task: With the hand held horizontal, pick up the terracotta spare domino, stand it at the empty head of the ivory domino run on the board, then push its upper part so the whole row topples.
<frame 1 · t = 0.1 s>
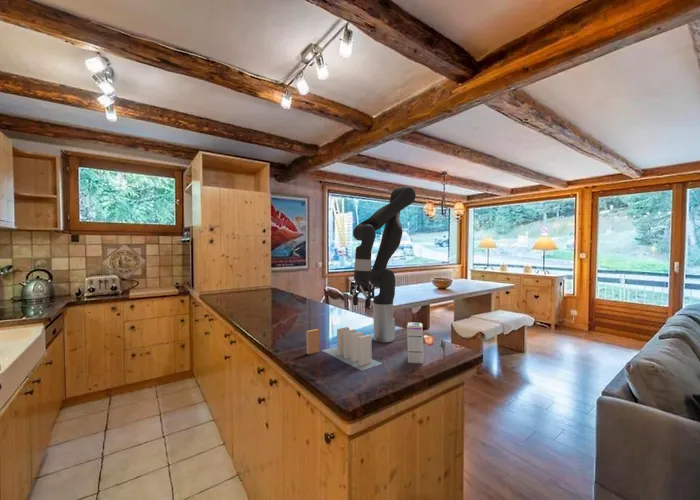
hand: (361, 306, 134), 17 cm above the counter, tool pointing down, fingers open, 8 cm apart
syrup box: (415, 363, 114), on the counter
domino 4: (357, 359, 114), point 1 cm above the counter, touching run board
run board: (350, 359, 118), on the counter
domino 3: (350, 356, 118), point 1 cm above the counter, touching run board
domino 5: (365, 363, 111), point 1 cm above the counter, touching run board
domino 2: (343, 353, 121), point 1 cm above the counter, touching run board
spare domino: (313, 354, 123), on the counter
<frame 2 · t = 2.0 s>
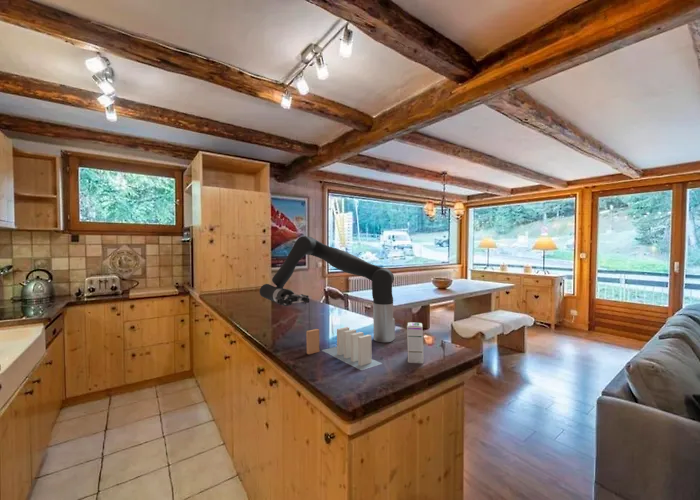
hand: (299, 301, 131), 20 cm above the counter, tool horizontal, fingers open, 8 cm apart
nothing on the counter moved.
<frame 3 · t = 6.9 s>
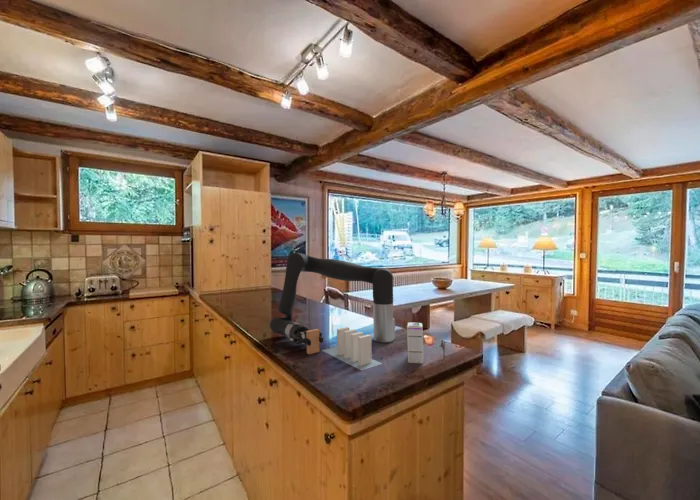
hand: (316, 341, 121), 6 cm above the counter, tool horizontal, fingers closed on spare domino, 5 cm apart
spare domino: (313, 354, 123), on the counter, touching gripper
everything else where it was.
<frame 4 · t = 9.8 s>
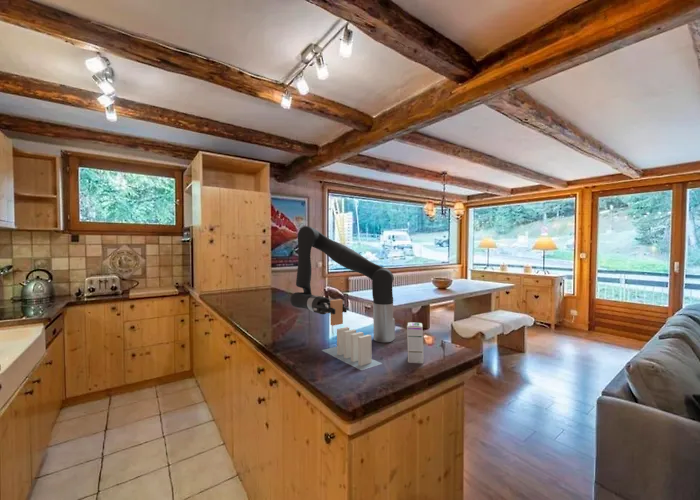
hand: (340, 310, 123), 18 cm above the counter, tool horizontal, fingers closed on spare domino, 5 cm apart
spare domino: (336, 324, 125), point 12 cm above the counter, touching gripper
everything else where it was.
when the fingers open (8 cm above the counter, at t = 12.9 s): spare domino stays where it is, resting on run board.
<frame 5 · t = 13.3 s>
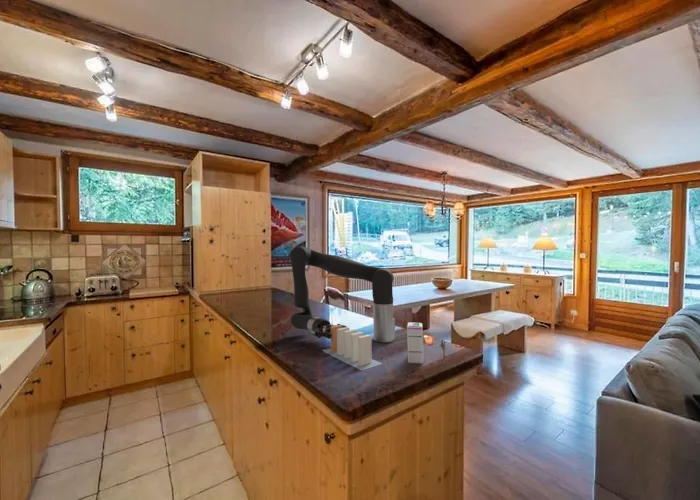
hand: (339, 334, 123), 8 cm above the counter, tool horizontal, fingers open, 8 cm apart
spare domino: (336, 350, 125), point 1 cm above the counter, touching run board
everything else where it was.
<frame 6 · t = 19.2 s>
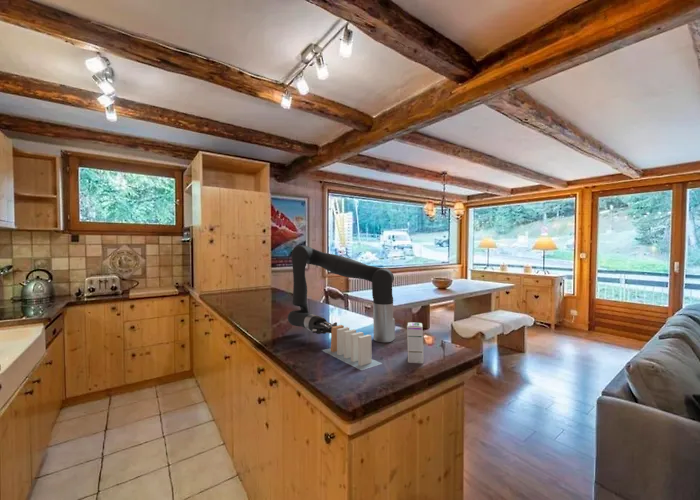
hand: (336, 331, 125), 9 cm above the counter, tool horizontal, fingers closed
nothing on the counter moved.
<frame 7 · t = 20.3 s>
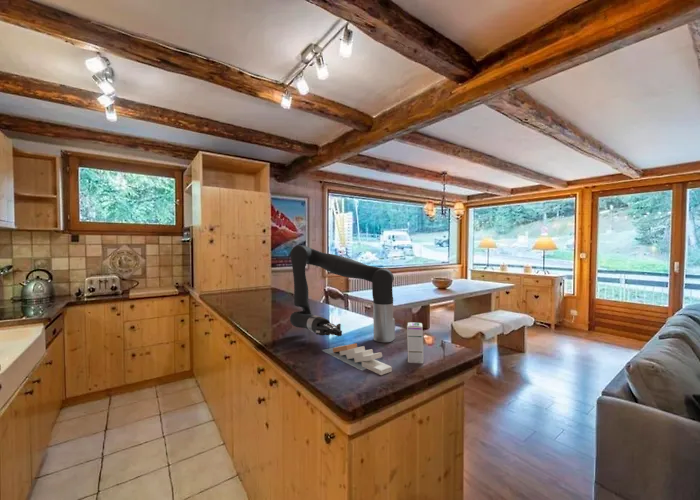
hand: (340, 333, 123), 8 cm above the counter, tool horizontal, fingers closed
domino 4: (359, 358, 113), point 2 cm above the counter, tilted 69°, touching domino 3, domino 5
domino 3: (351, 355, 117), point 2 cm above the counter, tilted 69°, touching domino 2, domino 4, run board
domino 5: (366, 362, 110), point 2 cm above the counter, tilted 90°, touching domino 4, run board
domino 2: (344, 352, 120), point 2 cm above the counter, tilted 69°, touching domino 3, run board, spare domino
spare domino: (338, 349, 124), point 2 cm above the counter, tilted 70°, touching domino 2, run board
everything else where it was.
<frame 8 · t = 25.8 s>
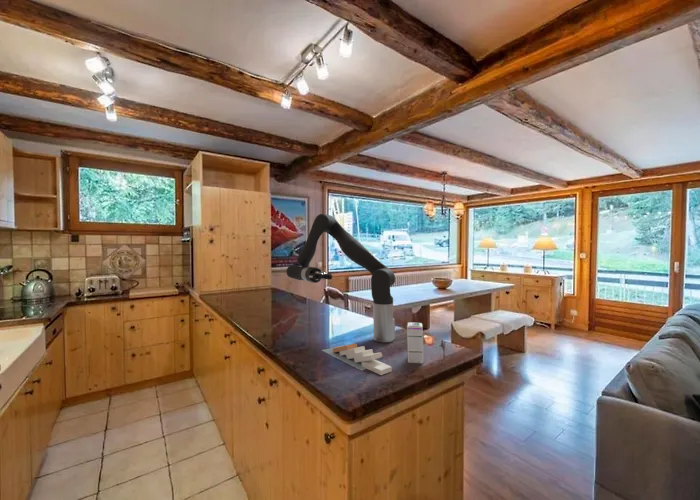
hand: (330, 277, 137), 30 cm above the counter, tool horizontal, fingers closed
nothing on the counter moved.
at the end: domino 5 tilted 90°; spare domino tilted 70°; spare domino inside the target area (0.4 cm from its centre), point 1.8 cm above the counter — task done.
